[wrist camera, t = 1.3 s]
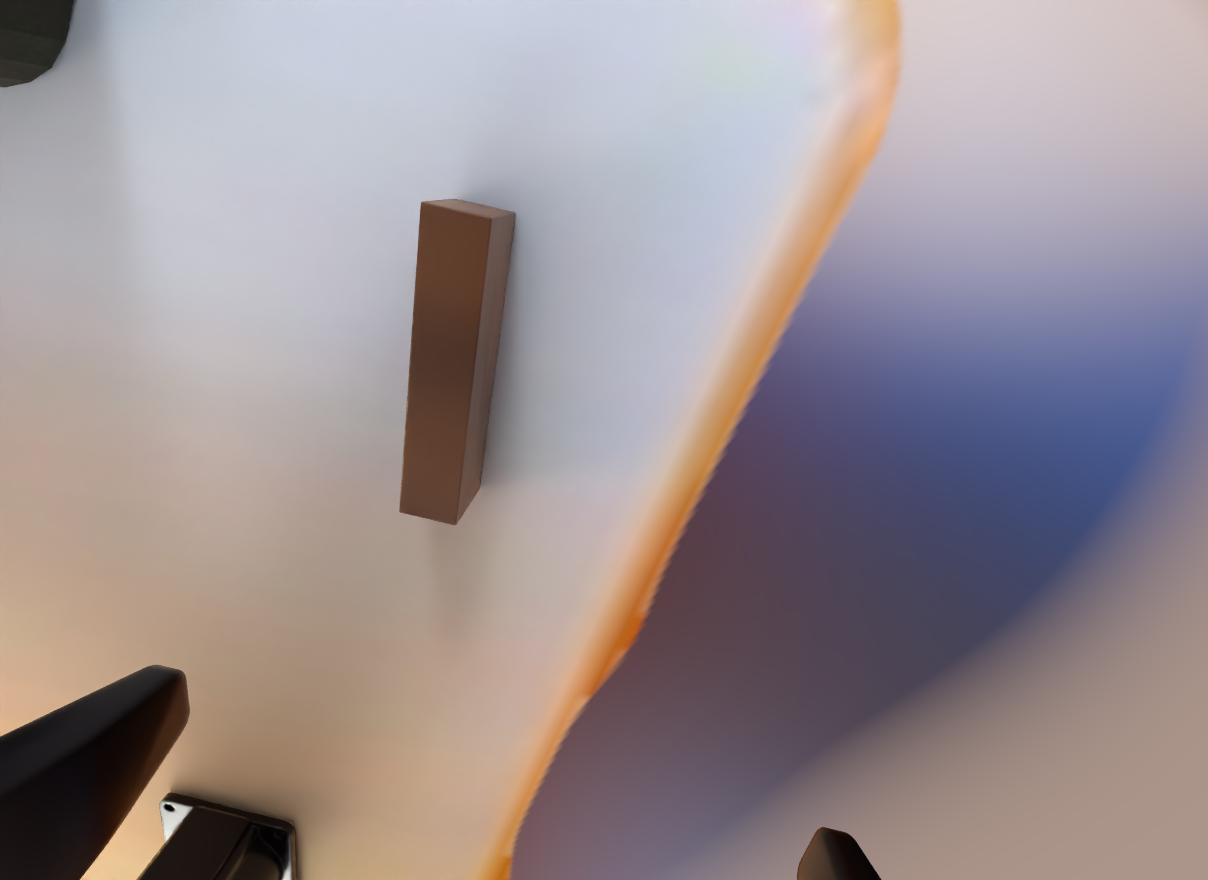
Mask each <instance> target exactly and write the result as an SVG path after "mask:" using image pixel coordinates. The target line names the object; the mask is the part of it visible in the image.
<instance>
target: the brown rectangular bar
mask: <svg viewBox="0 0 1208 880" xmlns="http://www.w3.org/2000/svg"><path fill="white" fill-rule="evenodd" d="M515 215H516V214H515V212H512V211H507V210H503V209H498V208H494V207H489V206H485V205H480V204H476V203H471V202H467V201H463V200H458V199H448V200H437V201H426V202H421V210H420V224H419V238H418V253H417V267H416V281H415V296H414V310H413V324H412V339H411V353H410V367H409V382H408V396H407V410H406V425H405V439H404V453H403V468H402V482H401V496H400V512H401V513H406V514H410V515H414V516H418V517H422V518H427V519H431V520H435V521H439V522H443V523H448V524H452V525H456V524H457V523H458V521H459V520H460V518H461V516H462V515H463V513H464V512H465V510H466V509H467V507H468V506H469V504H470V502H471V501H472V499H473V498H474V496H475V495H476V493H477V492H478V490H479V488H480V481H481V473H482V466H483V458H484V450H485V443H486V435H487V428H488V420H489V413H490V405H491V397H492V390H493V382H494V375H495V367H496V359H497V352H498V344H499V337H500V329H501V321H502V314H503V306H504V299H505V291H506V284H507V276H508V268H509V261H510V253H511V246H512V238H513V230H514V223H515Z"/></svg>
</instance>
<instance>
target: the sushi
mask: <svg viewBox="0 0 1208 880" xmlns="http://www.w3.org/2000/svg"><path fill="white" fill-rule="evenodd" d="M72 4H73V0H0V86H1V87H8V86H12V85H17V84H22V83H27V82H31V81H32V80H34V79H35V78H37V77H38V76H40V75H41V74H43V73H44V72H46V71H47V70H48V69H50V68H51V67H52V65H53V63H54V62H55V60H56V58H57V56H58V54H59V52H60V50H61V49H62V47H63V45H64V43H65V40H66V35H67V30H68V25H69V20H70V14H71V9H72Z"/></svg>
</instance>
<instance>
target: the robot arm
mask: <svg viewBox="0 0 1208 880" xmlns="http://www.w3.org/2000/svg"><path fill="white" fill-rule="evenodd" d="M189 713H190V707H189V698H188V689H187V680H186V675H185V674H184V673H183V671H181V670H178V669H174V668H170V667H166V666H162V665H152V666H148V667H146V668H143V669H141V670H139V671H137V672H135V673H133V674H131V675H129V676H127V677H124V678H122V679H120V680H118V681H116V682H114V683H112V684H110V685H108V686H106V687H103V688H101V689H99V690H97V691H95V692H93V693H91V694H89V695H87V696H85V697H82V698H80V699H78V700H76V701H74V702H72V703H70V704H68V705H66V706H64V707H61V708H59V709H57V710H55V711H53V712H51V713H49V714H47V715H45V716H43V717H40V718H38V719H36V720H34V721H32V722H30V723H28V724H26V725H24V726H22V727H19V728H17V729H15V730H13V731H11V732H9V733H7V734H5V735H3V736H1V737H0V880H80V879H81V877H82V876H83V875H84V874H85V872H86V871H87V870H88V868H89V867H90V866H91V865H92V863H93V862H94V861H95V859H96V858H97V857H98V856H99V854H100V853H101V852H102V850H103V849H104V848H105V846H106V845H107V844H108V842H109V841H110V839H111V838H112V837H113V835H114V834H115V832H116V831H117V829H118V828H119V827H120V825H121V824H122V822H123V821H124V819H125V818H126V816H127V815H128V813H129V812H130V810H131V809H132V807H133V805H134V804H135V802H136V801H137V799H138V798H139V796H140V795H141V793H142V792H143V790H144V789H145V787H146V786H147V784H148V783H149V781H150V780H151V778H152V777H153V775H154V774H155V772H156V771H157V769H158V768H159V766H160V765H161V763H162V762H163V760H164V759H165V757H166V756H167V754H168V753H169V751H170V750H171V748H172V747H173V745H174V744H175V742H176V740H177V739H178V737H179V736H180V734H181V733H182V731H183V730H184V728H185V726H186V724H187V721H188V718H189ZM159 807H160V813H161V819H162V826H163V832H164V838H165V844H164V845H163V846H162V847H161V849H160V850H159V851H158V853H157V854H156V855H155V857H154V858H153V859H152V860H151V862H150V863H149V864H148V866H147V867H146V868H145V869H144V871H143V872H142V873H141V875H140V876H139V877H138V878H137V880H296V842H295V828H294V826H293V825H292V824H290V823H289V822H286V821H283V820H279V819H275V818H271V817H267V816H263V815H259V814H255V813H251V812H247V811H243V810H239V809H235V808H231V807H227V806H223V805H219V804H215V803H211V802H207V801H203V800H199V799H195V798H191V797H188V796H184V795H180V794H176V793H168V794H167V795H166V796H165V797H164V798H163V799H162V801H161V802H160V803H159ZM797 880H881V878H880V877H879V875H878V874H877V872H876V871H875V870H874V868H873V866H872V865H871V863H870V862H869V860H868V859H867V857H866V856H865V854H864V853H863V851H862V850H861V848H860V847H859V845H858V844H857V842H856V841H855V839H853V837H852V836H850V835H849V834H847V833H845V832H841V831H837V830H833V829H829V828H825V827H822V828H820V829H818V830H817V832H816V833H815V835H814V836H813V838H812V840H811V842H810V844H809V846H808V848H807V850H806V851H805V853H804V855H803V857H802V859H801V861H800V863H799V867H798V873H797Z"/></svg>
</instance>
